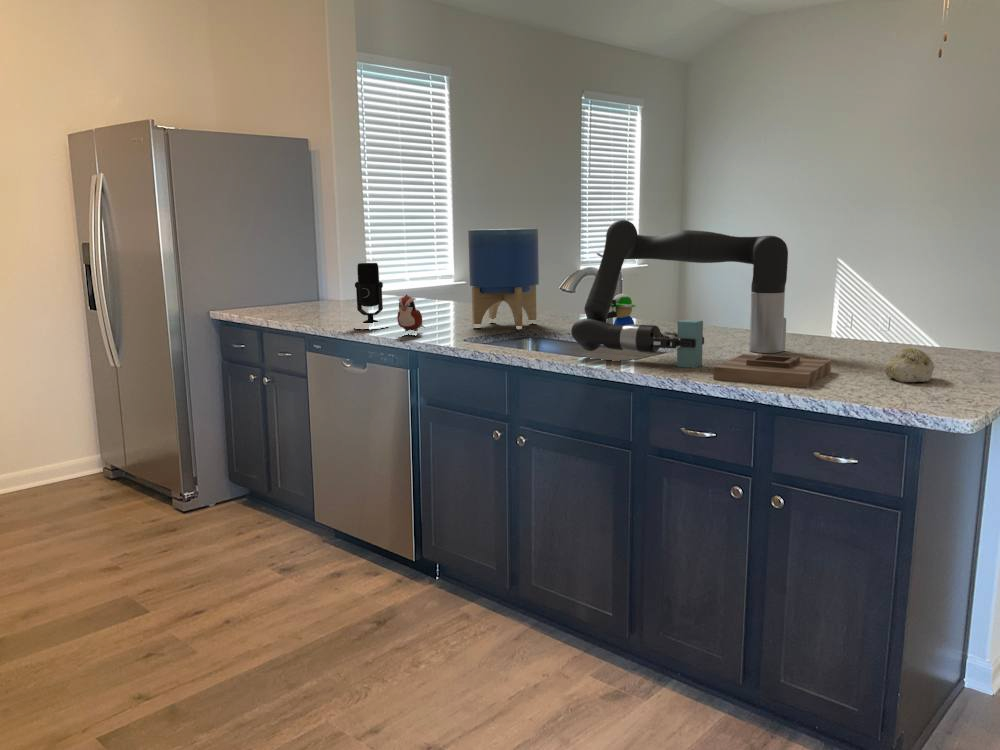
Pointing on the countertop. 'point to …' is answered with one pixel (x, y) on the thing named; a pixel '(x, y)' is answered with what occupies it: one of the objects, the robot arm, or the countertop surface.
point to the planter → (503, 271)
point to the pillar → (687, 354)
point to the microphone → (369, 289)
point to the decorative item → (910, 366)
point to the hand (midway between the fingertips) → (699, 342)
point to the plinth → (773, 370)
